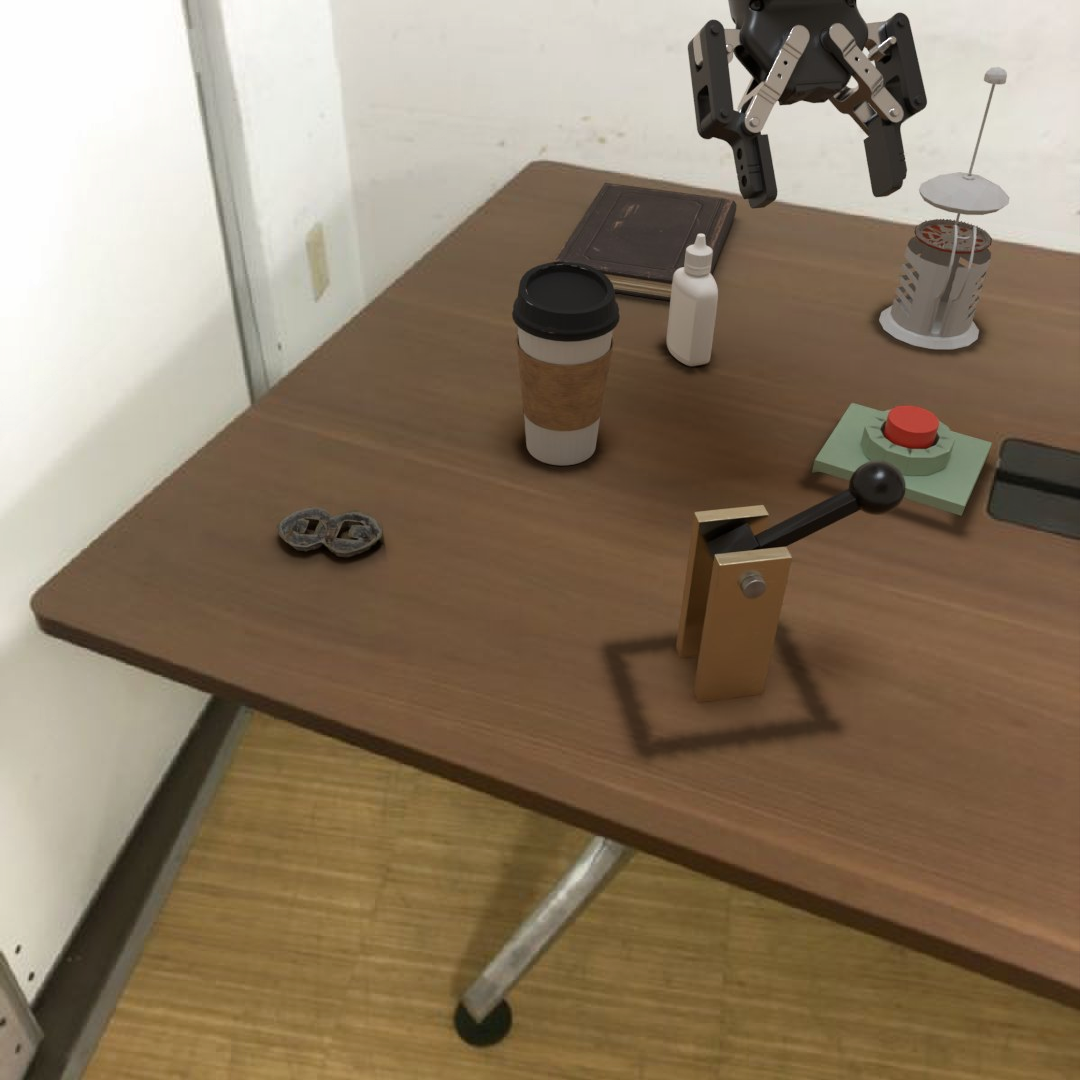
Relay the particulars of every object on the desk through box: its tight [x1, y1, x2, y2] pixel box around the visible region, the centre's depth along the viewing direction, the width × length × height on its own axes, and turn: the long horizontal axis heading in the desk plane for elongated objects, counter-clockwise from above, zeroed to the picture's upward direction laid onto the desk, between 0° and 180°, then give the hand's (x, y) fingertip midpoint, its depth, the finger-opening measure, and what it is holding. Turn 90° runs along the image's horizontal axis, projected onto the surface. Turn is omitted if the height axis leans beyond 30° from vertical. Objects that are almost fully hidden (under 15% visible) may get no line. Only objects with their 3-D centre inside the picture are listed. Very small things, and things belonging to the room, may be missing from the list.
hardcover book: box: [553, 182, 737, 302], centre depth 125 cm, size 16×23×2 cm
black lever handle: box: [706, 461, 906, 562], centre depth 66 cm, size 12×3×3 cm, turn 101°
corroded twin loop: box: [276, 506, 383, 559], centre depth 84 cm, size 5×8×1 cm, turn 82°
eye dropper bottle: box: [665, 234, 719, 367], centre depth 104 cm, size 4×6×12 cm
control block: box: [811, 402, 993, 516], centre depth 92 cm, size 12×10×4 cm
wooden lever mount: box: [675, 504, 793, 703], centre depth 70 cm, size 12×9×13 cm
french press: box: [878, 66, 1010, 350], centre depth 104 cm, size 10×12×25 cm
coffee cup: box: [511, 261, 621, 467], centre depth 90 cm, size 8×8×15 cm
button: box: [884, 405, 940, 449], centre depth 90 cm, size 4×4×2 cm
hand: (827, 198), depth 67 cm, fingers open, 8 cm apart
